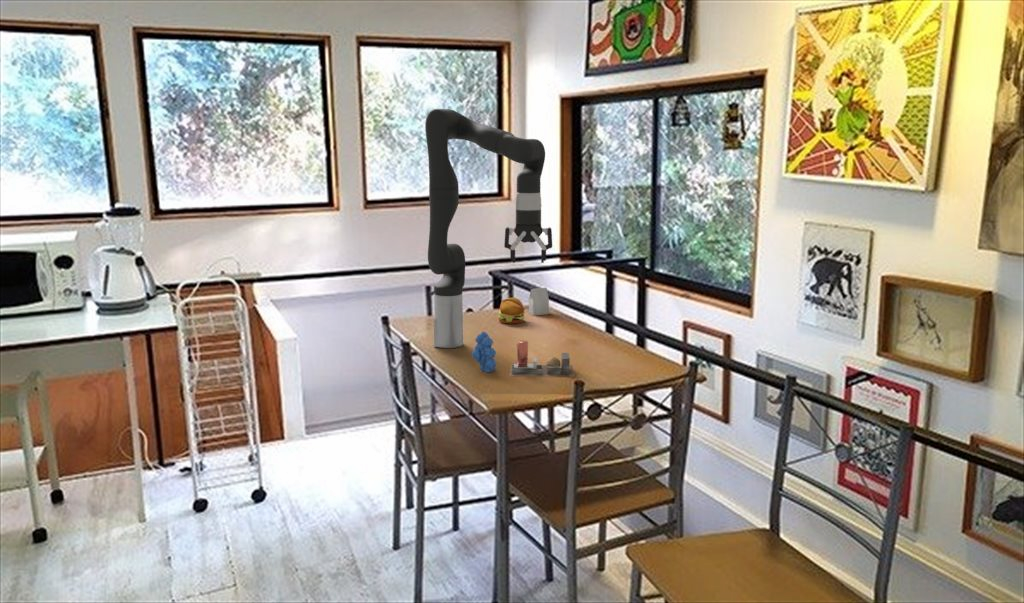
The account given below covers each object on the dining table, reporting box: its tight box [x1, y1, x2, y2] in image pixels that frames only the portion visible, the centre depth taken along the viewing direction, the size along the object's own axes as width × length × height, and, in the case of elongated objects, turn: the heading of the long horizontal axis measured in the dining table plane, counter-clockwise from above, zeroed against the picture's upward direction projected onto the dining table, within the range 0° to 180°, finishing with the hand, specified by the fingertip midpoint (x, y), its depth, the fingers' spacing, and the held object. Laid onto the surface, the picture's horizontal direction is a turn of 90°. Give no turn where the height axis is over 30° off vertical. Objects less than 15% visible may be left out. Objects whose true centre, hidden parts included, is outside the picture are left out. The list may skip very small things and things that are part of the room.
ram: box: [513, 340, 538, 370], centre depth 216 cm, size 6×4×8 cm, turn 89°
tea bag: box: [528, 287, 550, 317], centre depth 294 cm, size 4×7×10 cm, turn 116°
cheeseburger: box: [498, 297, 526, 324], centre depth 282 cm, size 10×11×10 cm
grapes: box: [471, 331, 497, 373], centre depth 218 cm, size 12×7×12 cm, turn 24°
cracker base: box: [509, 352, 575, 378], centre depth 217 cm, size 18×11×6 cm, turn 89°
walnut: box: [545, 356, 561, 366], centre depth 216 cm, size 4×4×4 cm
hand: (528, 262), depth 228 cm, fingers open, 8 cm apart
